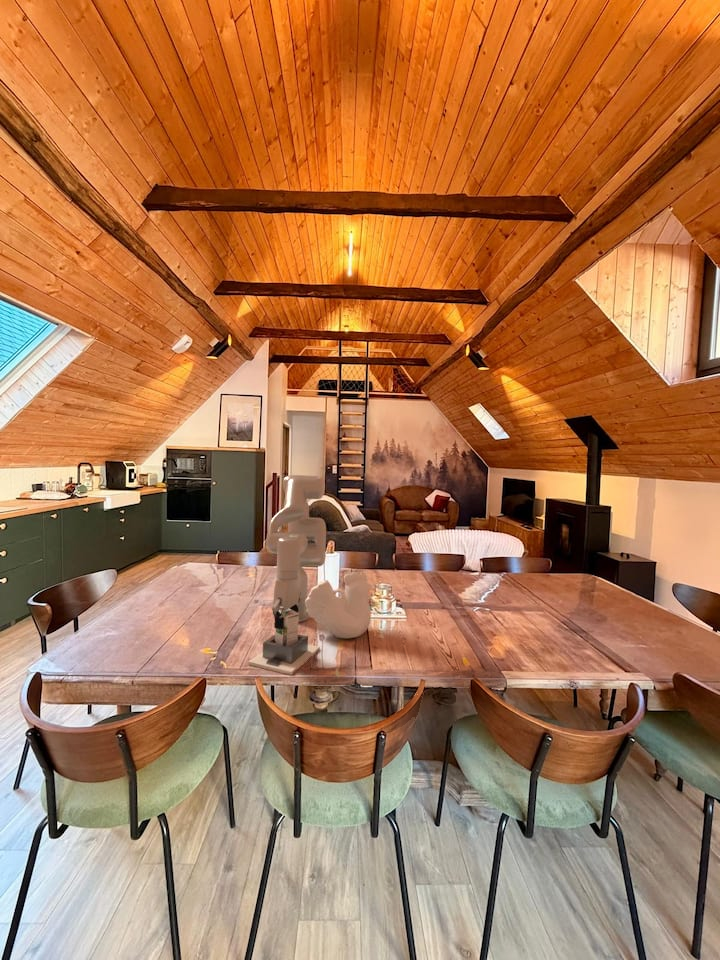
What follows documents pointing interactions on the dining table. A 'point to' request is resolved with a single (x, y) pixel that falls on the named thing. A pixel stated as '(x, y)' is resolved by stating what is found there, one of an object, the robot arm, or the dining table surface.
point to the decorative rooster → (342, 606)
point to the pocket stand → (284, 655)
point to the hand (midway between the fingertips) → (286, 623)
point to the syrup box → (288, 629)
